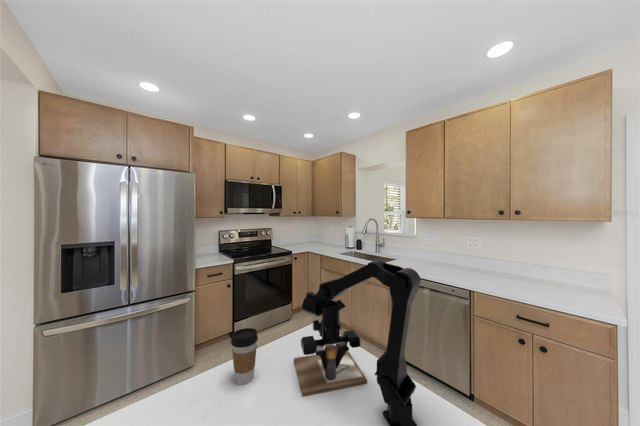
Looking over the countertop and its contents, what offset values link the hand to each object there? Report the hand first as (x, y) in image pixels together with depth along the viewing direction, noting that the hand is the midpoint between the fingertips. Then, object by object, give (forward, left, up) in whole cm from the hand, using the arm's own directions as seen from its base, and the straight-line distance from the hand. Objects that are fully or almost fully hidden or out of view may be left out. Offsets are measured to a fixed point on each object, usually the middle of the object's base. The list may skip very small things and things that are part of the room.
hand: (330, 368), depth 75 cm
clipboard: (+5, 0, -4) cm, 6 cm away
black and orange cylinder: (0, 0, -2) cm, 2 cm away
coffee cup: (+9, +27, -4) cm, 29 cm away
